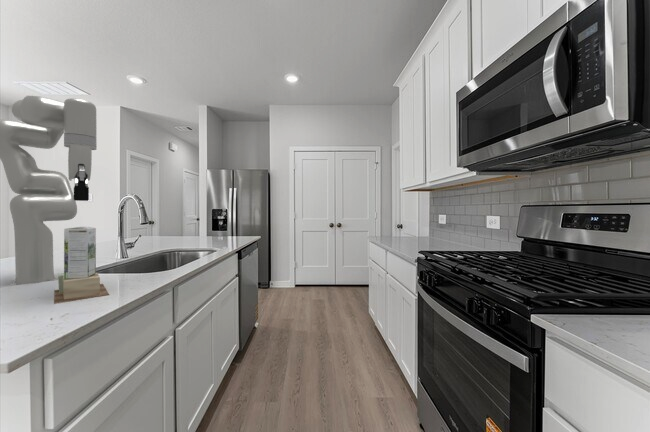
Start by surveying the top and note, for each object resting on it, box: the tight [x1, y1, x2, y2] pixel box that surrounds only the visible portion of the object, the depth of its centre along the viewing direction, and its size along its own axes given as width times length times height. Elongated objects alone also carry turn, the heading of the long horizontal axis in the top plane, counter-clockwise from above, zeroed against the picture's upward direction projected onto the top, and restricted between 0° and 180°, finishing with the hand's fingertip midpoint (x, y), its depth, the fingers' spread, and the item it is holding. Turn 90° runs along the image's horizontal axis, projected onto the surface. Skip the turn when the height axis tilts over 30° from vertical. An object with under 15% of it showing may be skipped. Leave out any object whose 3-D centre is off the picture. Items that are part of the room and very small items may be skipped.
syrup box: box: [63, 226, 97, 279], centre depth 88 cm, size 6×6×14 cm
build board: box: [53, 283, 110, 305], centre depth 90 cm, size 18×12×2 cm, turn 42°
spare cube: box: [57, 272, 64, 293], centre depth 93 cm, size 5×5×5 cm
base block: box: [63, 272, 101, 300], centre depth 88 cm, size 8×8×5 cm
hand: (81, 200), depth 90 cm, fingers open, 9 cm apart
